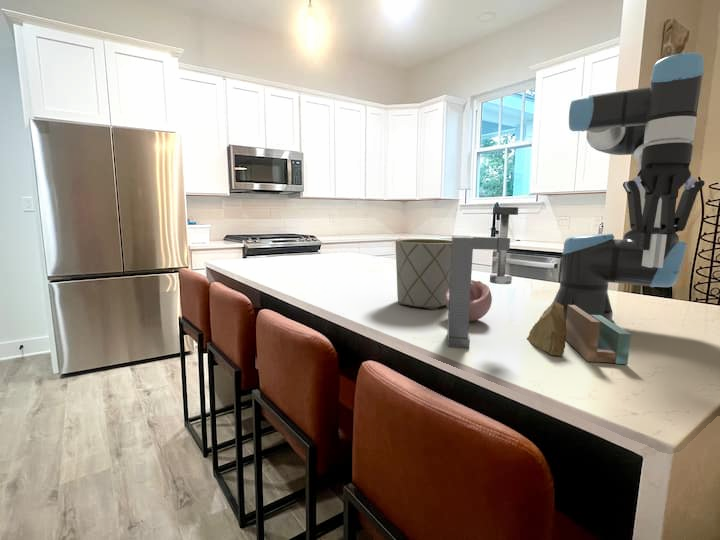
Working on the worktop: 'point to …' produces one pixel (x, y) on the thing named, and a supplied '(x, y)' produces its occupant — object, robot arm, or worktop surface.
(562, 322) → the rock
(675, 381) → the worktop surface
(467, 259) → the press frame
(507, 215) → the ram
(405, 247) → the planter
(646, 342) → the worktop surface
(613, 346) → the frame
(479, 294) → the mortar and pestle
